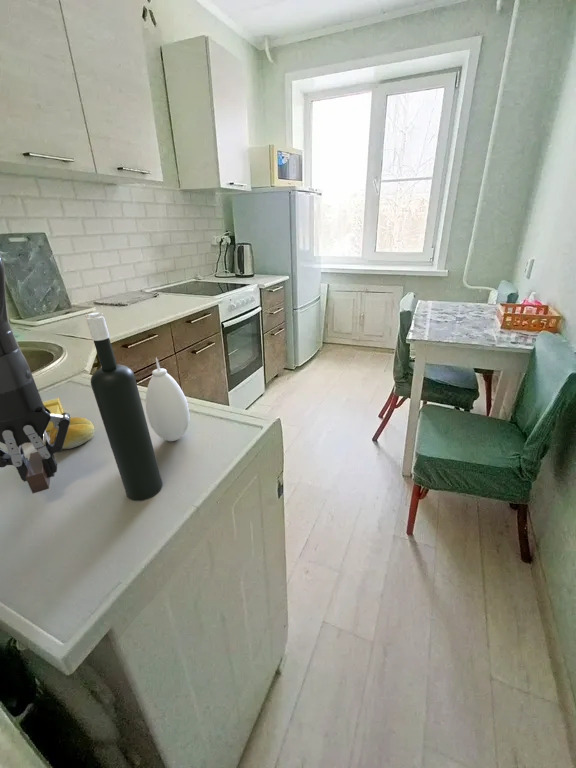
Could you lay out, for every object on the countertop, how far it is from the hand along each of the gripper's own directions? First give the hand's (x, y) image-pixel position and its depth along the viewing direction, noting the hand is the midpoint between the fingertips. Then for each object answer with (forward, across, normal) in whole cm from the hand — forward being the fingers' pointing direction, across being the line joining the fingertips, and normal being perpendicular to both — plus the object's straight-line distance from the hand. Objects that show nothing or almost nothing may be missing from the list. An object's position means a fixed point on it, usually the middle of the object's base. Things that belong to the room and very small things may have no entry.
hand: (41, 476), depth 58 cm
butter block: (+4, +1, -26) cm, 26 cm away
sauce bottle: (+4, -22, -5) cm, 23 cm away
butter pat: (+4, +1, -31) cm, 32 cm away
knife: (0, 0, -4) cm, 4 cm away
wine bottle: (+4, -14, +7) cm, 17 cm away
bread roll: (+4, -3, -17) cm, 18 cm away
